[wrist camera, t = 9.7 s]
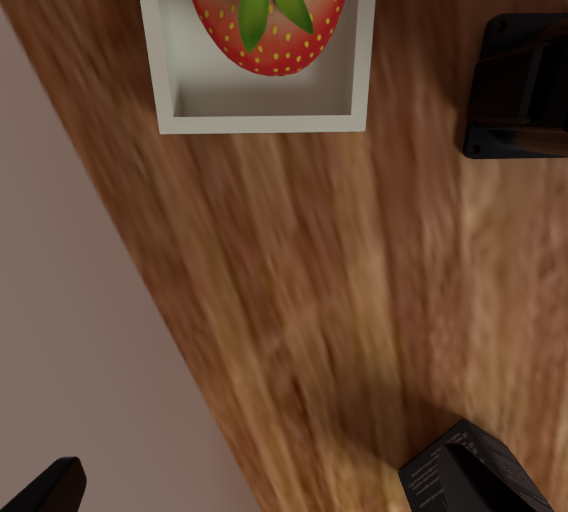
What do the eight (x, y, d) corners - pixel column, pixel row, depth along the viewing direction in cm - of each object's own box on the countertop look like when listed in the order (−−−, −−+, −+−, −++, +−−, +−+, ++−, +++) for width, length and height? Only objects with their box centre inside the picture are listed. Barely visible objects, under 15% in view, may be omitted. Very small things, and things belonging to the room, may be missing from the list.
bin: (368, -110, 14) (387, -155, 12) (352, 129, 17) (365, 131, 15) (143, -111, 14) (116, -158, 11) (174, 131, 17) (159, 133, 15)
